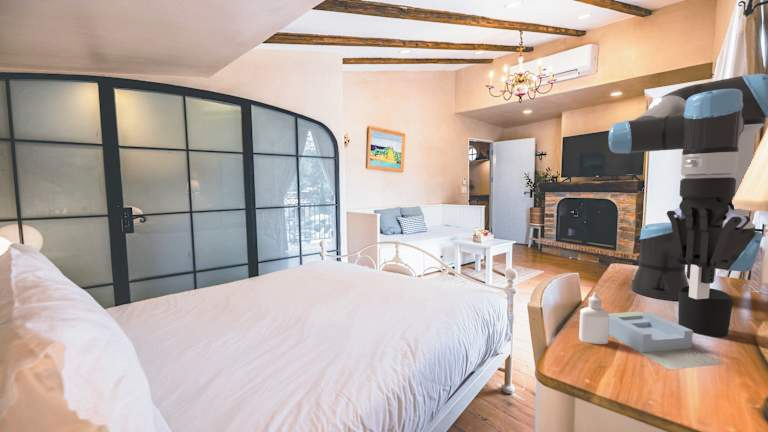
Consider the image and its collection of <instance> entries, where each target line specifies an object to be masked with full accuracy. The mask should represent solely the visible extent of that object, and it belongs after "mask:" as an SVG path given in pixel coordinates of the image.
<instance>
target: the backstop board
mask: <svg viewBox="0 0 768 432" xmlns="http://www.w3.org/2000/svg"><path fill="white" fill-rule="evenodd" d="M643 313H644V312H642V311H627V312H614V313H608V314H609V316H612V315H614V316H616V317H618V318H620V319H622V320H637V319H643ZM608 336H610V337H612V339H615V340H617V341H618V342H620V343H622V344H623V345H625V346H627V347H629V345H628V344H626V343H624V342H623V341H621V340H619V339H617V338H615V337H614V336H612V335H610V334H609V335H608ZM630 349H632V350H634V351H636V352H638V353H640V354H641V355H643V356H644V357H646V358H648V359H650V360H652V361H653V362H655V363H658V365H661V366H662V367H664V368H666V369H667V370H676V369H682V368H684V369H689V368H699V367H700V368H701V367H706V366H707V367H708V366H716V365H718V366H719V365H724V362H723V361H722V360H719V359H718V358H715V357H714V356H712V355H707V353H705V352H703V351H701V350H698V349H696V348H694V347H692V348H686V349H675V350H664V351H653V352H640V351H639V350H637V349H635V348H633V347H631V346H630Z"/></svg>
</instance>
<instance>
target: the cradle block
mask: <svg viewBox="0 0 768 432" xmlns="http://www.w3.org/2000/svg"><path fill="white" fill-rule="evenodd" d="M642 313H643V319H637V320H622V319H620V318H618V317H616V316H614V315H612V316H609V334H610V335H609V336H614V339H615V338H617V340H621V341H623V342H624V343H626V344H627V345H628V346H629V347H630V348H631V347H632V348H635V349H637V350H638V352H639V351H640V352H642V353H643V352H650V353H651V352H655V351H656V352H658V351H659V352H660V351H662V352H664V350H669V351H670V350H671V351H672V350H674V351H675V350H676V349H678V350H679V349H686V348H687V349H688V348H690V349H691V348H692V349H693V347H692V346H693V334H694V333H693V330H691V329H688V328H686V327H683V326H681V325H679V323H676V322H674V321H671V320H669V319H667V318H664V317H662V316H659V315H657V314H654V313H652V312H642ZM623 342H622V343H623ZM624 343H623V344H624ZM637 350H636V351H637Z"/></svg>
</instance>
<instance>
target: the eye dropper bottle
mask: <svg viewBox="0 0 768 432" xmlns="http://www.w3.org/2000/svg"><path fill="white" fill-rule="evenodd" d="M609 314H610V313H609V312H608V311H607V310H605V309H604V308H602V299H601V298H600V297H599V296H598V292H597V291H595V292H593V293H592V296H589V297H588V306H586V307H582V308H581V309H580V311H579V326H578V328H579V329H578V338H579V340H580V342H582V343H586V344H593V345H607V344H609V336H610V335H609Z"/></svg>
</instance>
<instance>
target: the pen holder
mask: <svg viewBox="0 0 768 432" xmlns="http://www.w3.org/2000/svg"><path fill="white" fill-rule="evenodd" d="M733 302H734V300H733V298H732V297H731V295H730V294H728V293H727V292H726V291H723V290H719V289H716V288H710V289H709V298H706V299H694V298H691V297H689V286H684V287H682V288H680V290H679V300H678V312H677V313H678V324H679V325H681V326H683V327H686V328H688V329H691V330H693V334H697V335H700V336H706V337H711V338H725V337H727V336H728V335H729V329H730V323H731V316H732V310H733Z"/></svg>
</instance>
